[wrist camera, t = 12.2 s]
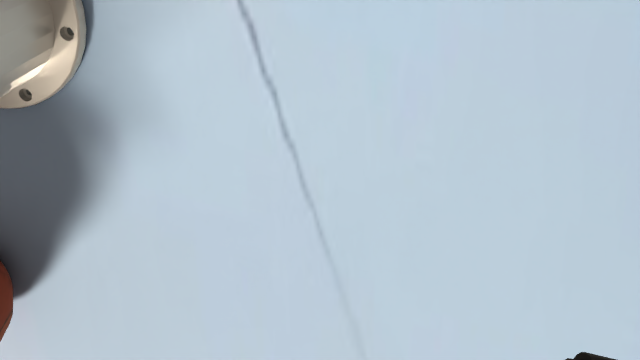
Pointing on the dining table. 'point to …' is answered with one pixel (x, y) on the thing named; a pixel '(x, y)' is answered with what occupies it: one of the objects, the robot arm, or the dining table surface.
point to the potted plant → (5, 300)
